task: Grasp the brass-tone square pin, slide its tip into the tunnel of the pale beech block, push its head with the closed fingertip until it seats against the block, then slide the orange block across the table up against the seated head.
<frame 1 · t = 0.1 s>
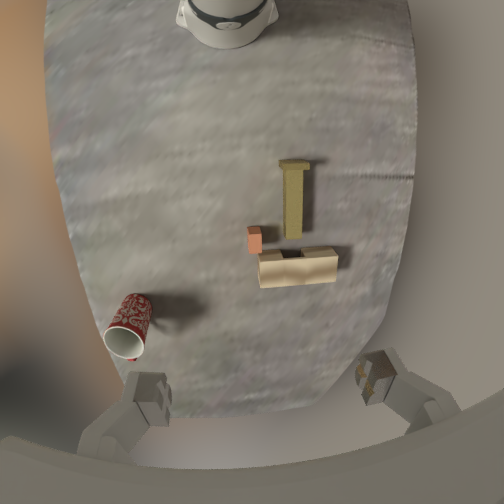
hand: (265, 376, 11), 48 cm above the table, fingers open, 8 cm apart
mug: (138, 311, 67), on the table
pin: (291, 200, 58), on the table
orange block: (254, 239, 58), point 2 cm above the table, slide at 0.0 cm
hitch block: (294, 260, 64), on the table
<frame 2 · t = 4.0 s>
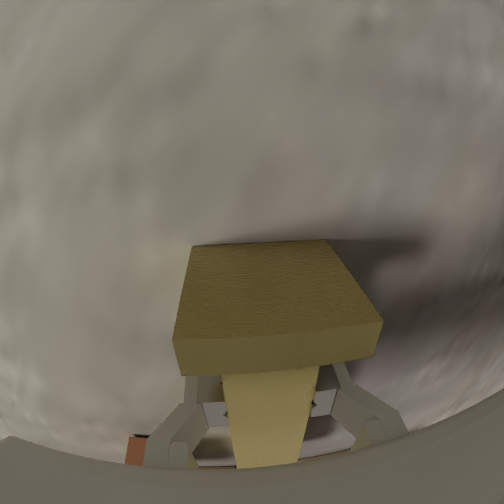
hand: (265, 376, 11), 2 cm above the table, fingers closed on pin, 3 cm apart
pin: (261, 390, 14), on the table, touching gripper
orange block: (151, 473, 15), point 2 cm above the table, slide at 0.0 cm
when the fingers open (2 cm above the table, at t = 6.7 s): pin stays where it is, on the table.
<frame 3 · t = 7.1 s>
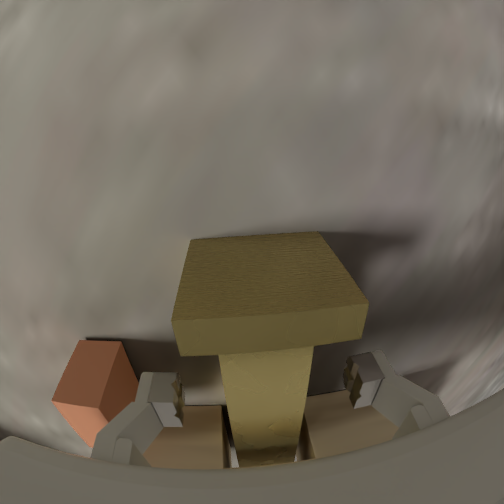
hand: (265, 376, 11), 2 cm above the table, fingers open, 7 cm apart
pin: (260, 379, 15), on the table
orange block: (102, 397, 11), point 2 cm above the table, slide at 0.0 cm
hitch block: (277, 425, 17), on the table
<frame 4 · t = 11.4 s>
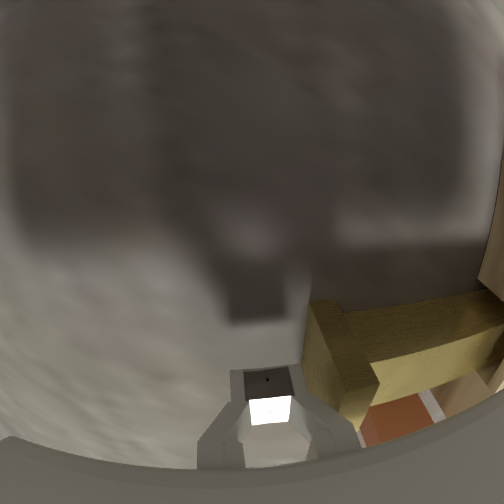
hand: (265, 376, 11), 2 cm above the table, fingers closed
pin: (440, 319, 14), on the table, touching gripper
orange block: (397, 430, 15), point 2 cm above the table, slide at 0.0 cm
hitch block: (498, 290, 13), on the table
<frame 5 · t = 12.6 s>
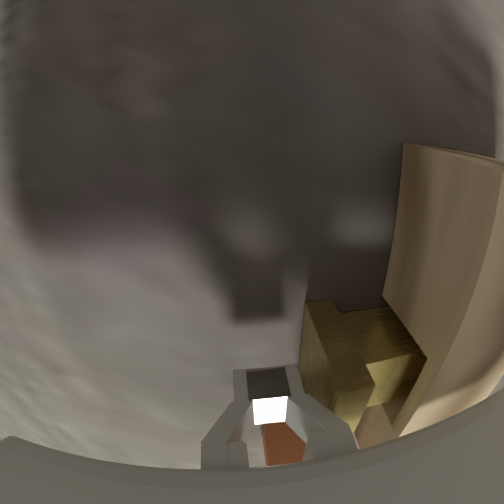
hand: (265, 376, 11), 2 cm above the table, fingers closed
pin: (439, 319, 14), on the table, touching gripper
orange block: (299, 454, 14), point 2 cm above the table, slide at 0.0 cm
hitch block: (424, 309, 13), on the table
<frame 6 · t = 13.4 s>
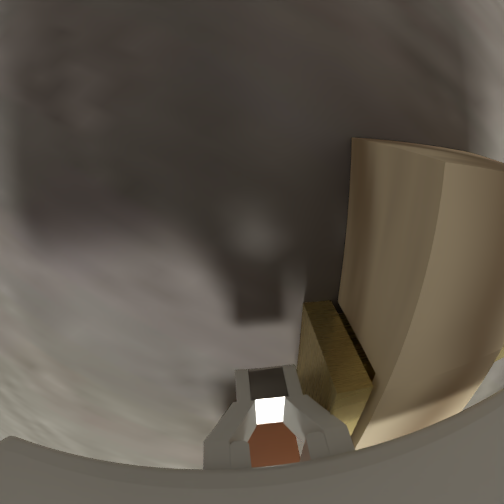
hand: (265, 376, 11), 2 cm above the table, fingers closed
pin: (439, 319, 14), on the table, touching gripper
orange block: (262, 459, 14), point 2 cm above the table, slide at 0.0 cm
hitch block: (390, 316, 13), on the table
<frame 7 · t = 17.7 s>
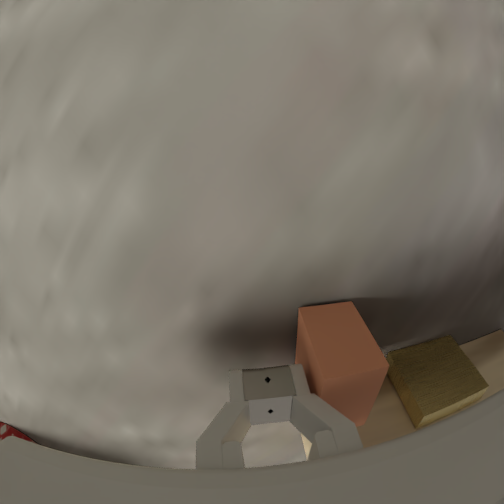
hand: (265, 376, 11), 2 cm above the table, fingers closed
mug: (27, 446, 19), on the table
pin: (387, 417, 18), on the table
orange block: (333, 369, 11), point 2 cm above the table, slide at 1.0 cm, touching gripper
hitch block: (414, 385, 17), on the table
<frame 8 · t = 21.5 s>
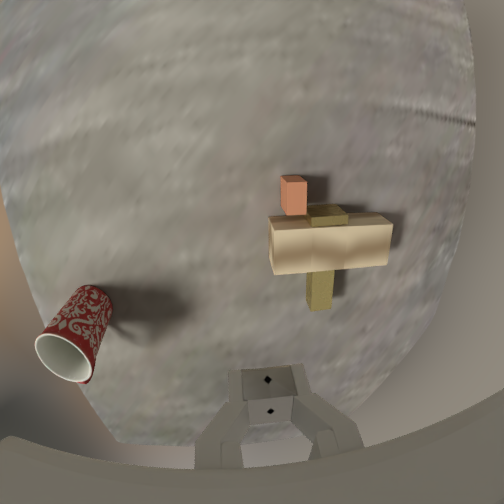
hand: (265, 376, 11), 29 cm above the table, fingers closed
mug: (95, 311, 44), on the table
pin: (317, 258, 43), on the table
orange block: (293, 194, 36), point 2 cm above the table, slide at 3.5 cm
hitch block: (324, 234, 41), on the table
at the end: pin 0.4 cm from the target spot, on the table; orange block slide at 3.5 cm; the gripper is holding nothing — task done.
